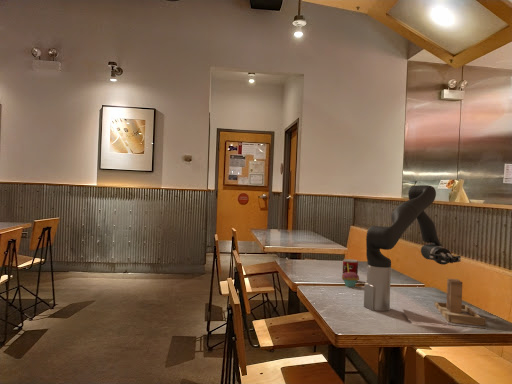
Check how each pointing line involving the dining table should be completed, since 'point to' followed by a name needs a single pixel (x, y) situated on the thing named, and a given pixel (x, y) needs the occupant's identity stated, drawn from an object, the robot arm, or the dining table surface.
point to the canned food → (350, 266)
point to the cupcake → (350, 278)
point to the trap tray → (461, 316)
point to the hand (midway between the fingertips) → (450, 260)
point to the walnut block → (454, 295)
